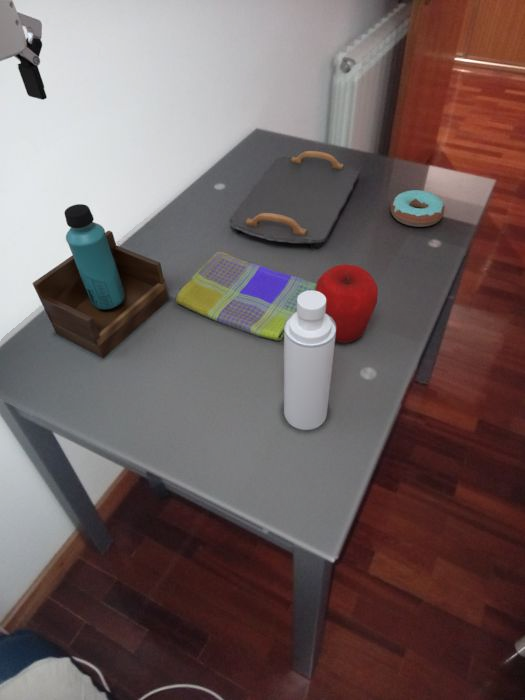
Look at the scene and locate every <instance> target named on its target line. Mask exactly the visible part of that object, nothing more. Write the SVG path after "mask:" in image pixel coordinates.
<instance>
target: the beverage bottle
mask: <svg viewBox="0 0 525 700" xmlns="http://www.w3.org/2000/svg"><path fill="white" fill-rule="evenodd" d="M64 217H65V222H66V225H67V226H68V227H69V229H68V231H67V232H66V234H65V235H66V236H65V241H66V242H67V245H68V247H69V250H70V252H71V254H72V255H73V257H74V260H75V262H74V263H76V265H77V268H78V271H79V273H80V276H81V278H82V283H83V284H84V287H85V288H86V289H85V291H87V292H86V293H88V294H87V296H89V298H90V301H91V302H90V303H92V305H94V306H95V307H96V308H98V309H111V308H114V307H116V306H118V305H119V304H120V303H121V302H122V301H123V300H124V296H125V295H124V294H125V293H124V289H123V283H121V282H122V280H121V277H120V274H118V273H119V272H118V271H117V266H116V265H115V264H116V263H115V261H114V258H113V256H112V253H111V250H110V247H109V244H108V241H107V238H106V235H105V233H106V231H105V228H104V227H103V226H102V225H101V224H99V223H97V222H94V219H95V218H94V215H93V214H92V211H91V209H90V207H89V206H88V205H86V204H82V203H81V204H80V203H78V204H73V205H70V206H69V207H67V208H66V209H65V210H64ZM72 255H71V256H72Z"/></svg>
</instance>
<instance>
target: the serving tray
mask: <svg viewBox="0 0 525 700" xmlns="http://www.w3.org/2000/svg"><path fill="white" fill-rule="evenodd" d="M360 175H361V170H360V169H358V168H356V167H354V166H350V165H348V164H347V163H342V162H339V161H338V159H337V158H336V157H335V156H333V154H331V153H327V152H324V151H318V150H306V151H303V152H301V153H300V154H299V155H298V156H291V157H287V156H283V157H277V158H276V159H274V161H273V163H272V164H271V165H270V166H269V167H268V169H266V171H265V172H264V173H263V175H262V177H261V178H260V179H259V180H258V182H257V183H256V185H254V186H253V188H252V189H251V191H250V192H249V193H248V195H247V196H246V197H245V199H243V201H242V202H241V203H240V205H239V206H238V207H237V209H236V210H234V213H232V215H231V217H230V218H229V221H228V225H230V226H231V227H232V228H233V230H234V232H235V234H236V235H241V234H243V233H244V234H247V235H250V236H253V237H255V238H259V239H262V240H267V241H271V242H279V243H288V244H308V245H309V244H310V247H311V249H313V250H318V249H319V247H320V246H321V243H324V242H325V241H327V239H328V238H329V236H330V233H331V232H332V230H333V228H334V226H335V224H336V222H337V221H338V220H339V217H340V214H341V211H342V210H343V209H344V207H345V206H346V204H347V201H348V199H349V197H350V195H351V194H352V193H353V191H354V186H355V185H356V182H358V179H359V177H360Z"/></svg>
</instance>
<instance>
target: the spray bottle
mask: <svg viewBox="0 0 525 700" xmlns="http://www.w3.org/2000/svg"><path fill="white" fill-rule="evenodd" d="M325 311H326V297H325V296H324V295H323V294H322V293H320V292H318V291H316V290H315V291H314V290H309V291H305V292H302V293H301V294H300V295H299V296H298V298H297V312H295V313H293V314H292V315H290V316H289V317H288V318H287V320H286V322H287V323H286V322H285V324H286V325H284V337H283V414H284V415H283V416H284V418H285V420H286V421H287V423H288V424H289V425H290V426H291V427H294V428H296V429H297V430H301V431H311V430H315V429H317V428H319V427H320V426H322V425H323V424H324V423H325V421H326V419H327V415H328V408H329V399H330V390H331V380H332V371H333V363H334V353H335V343H336V341H335V335H336V324H335V322H334V320H333V319H332V318H331V317H330V316H329V315H328V314H326V313H325ZM330 319H331V320H332V321H333V322H332V321H331V320H330Z"/></svg>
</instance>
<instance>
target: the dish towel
mask: <svg viewBox="0 0 525 700" xmlns="http://www.w3.org/2000/svg"><path fill="white" fill-rule="evenodd" d="M316 286H317V282H312V281H310V280H306V279H303V278H301V277H299V276H298V277H297V276H295V275H291V274H287V273H284V272H280V271H277V270H272V269H270V268H267V267H264V266H262V265H259V264H255V263H253V262H250V261H246V260H242V259H240V258H238V257H235V256H232V255H231V254H229V253H226V252H223V251H220V250H219V251H217V252H216V253H215V254H214V255H212V256H211V258H210V259H208V261H207V262H205V263H204V264H203V265H202V266H201V267H200V268H199V269H198V270H197V272H195V274H194V275H193V276H192V277H191V278H189V279H188V280H187V281H186V282H185V283H184V284H183V285H182V286H180V288H179V289H178V290H177V291H176V293H175V295H174V297H173V298H174V301H175V302H176V304H177V305H180V306H182V307H184V308H185V309H188V310H190V311H192V312H195V313H196V314H199V315H201V316H204V317H206V318H208V319H210V320H212V321H215V322H217V323H220V324H223V325H224V326H229V327H231V328H234V329H237V330H239V331H243V332H246V333H249V334H251V335H254V336H257V337H260V338H266V339H269V340H274V341H277V342H278V341H282V340H283V339H284V325H286V324H285V322H286V320H287V318H288V317H289V316H290V315H292V314H293V313H295V312H297V298H298V296H299V295H300V294H301V293H302V292H305V291H309V290H314V291H316ZM286 323H287V322H286Z"/></svg>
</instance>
